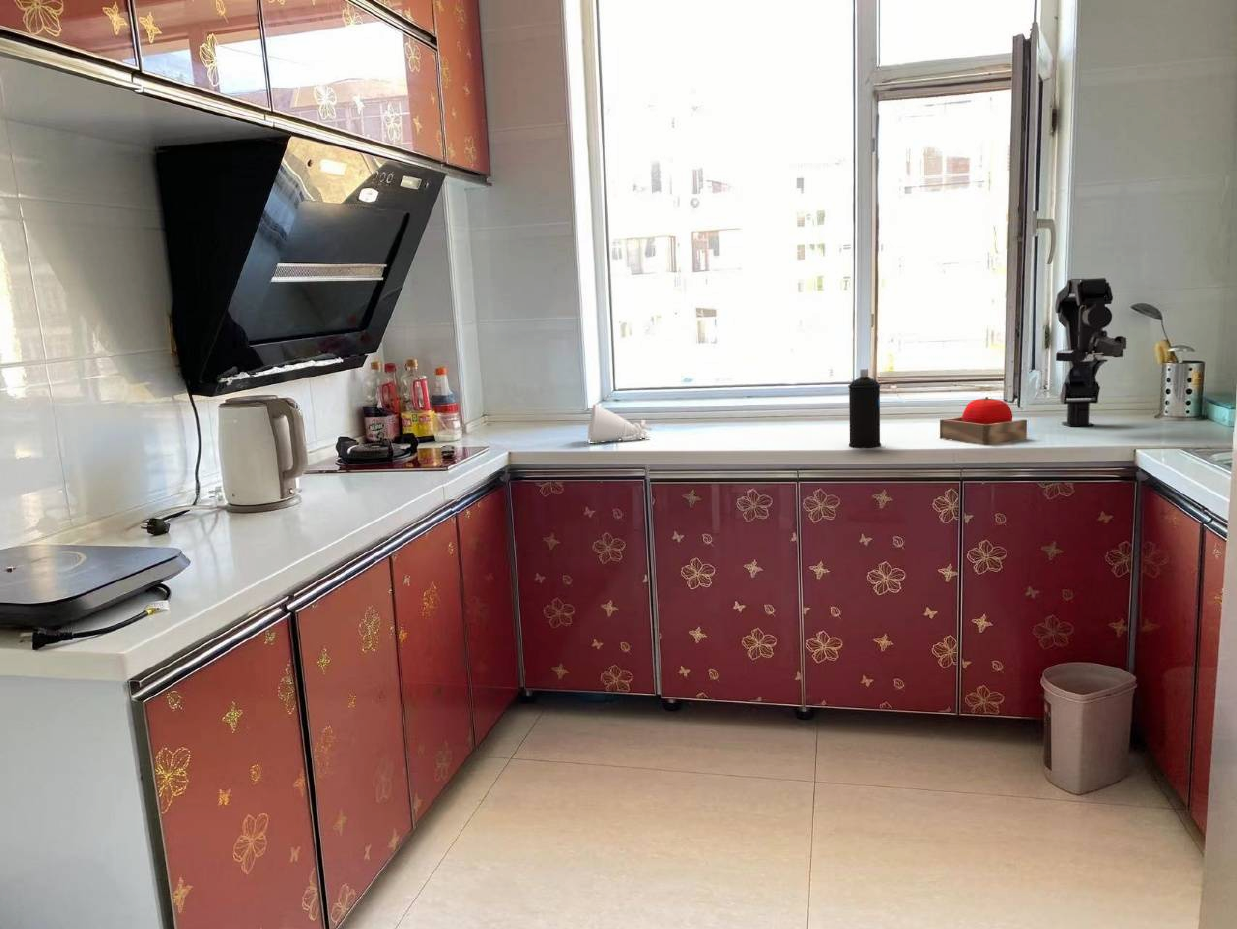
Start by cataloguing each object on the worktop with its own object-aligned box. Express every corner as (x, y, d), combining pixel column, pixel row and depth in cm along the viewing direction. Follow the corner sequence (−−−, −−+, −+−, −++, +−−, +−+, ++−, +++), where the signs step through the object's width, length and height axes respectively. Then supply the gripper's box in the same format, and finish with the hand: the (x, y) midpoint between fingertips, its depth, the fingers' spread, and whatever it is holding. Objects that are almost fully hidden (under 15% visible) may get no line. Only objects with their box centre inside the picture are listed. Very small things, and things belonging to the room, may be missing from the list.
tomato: (953, 436, 258) (954, 397, 256) (990, 432, 262) (990, 393, 260) (983, 441, 247) (983, 400, 245) (1020, 437, 251) (1021, 396, 249)
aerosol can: (861, 449, 247) (860, 371, 244) (842, 445, 255) (841, 369, 251) (887, 445, 250) (887, 368, 247) (868, 442, 258) (867, 367, 254)
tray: (979, 432, 264) (979, 414, 263) (1026, 438, 250) (1026, 419, 249) (939, 438, 258) (940, 419, 257) (985, 444, 244) (986, 425, 243)
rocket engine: (655, 406, 283) (595, 396, 281) (656, 435, 276) (594, 425, 273) (646, 432, 292) (588, 423, 289) (646, 460, 284) (586, 451, 282)
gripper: (1092, 329, 241) (1090, 391, 244) (1142, 325, 249) (1140, 385, 251) (1055, 329, 251) (1053, 388, 254) (1105, 325, 259) (1103, 383, 261)
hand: (1088, 386), depth 255 cm, fingers closed
